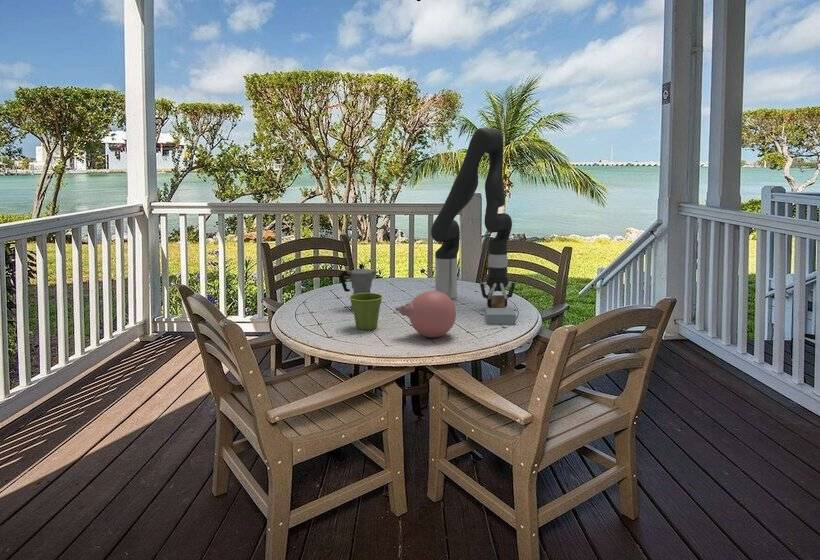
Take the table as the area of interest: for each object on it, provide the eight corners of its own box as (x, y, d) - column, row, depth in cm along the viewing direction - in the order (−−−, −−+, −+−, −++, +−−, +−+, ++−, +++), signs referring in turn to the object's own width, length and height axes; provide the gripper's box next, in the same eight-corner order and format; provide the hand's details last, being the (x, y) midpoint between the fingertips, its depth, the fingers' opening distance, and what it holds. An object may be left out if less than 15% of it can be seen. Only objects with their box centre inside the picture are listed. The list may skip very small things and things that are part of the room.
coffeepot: (375, 304, 241) (374, 261, 237) (381, 310, 232) (380, 264, 228) (338, 307, 236) (336, 263, 233) (342, 313, 228) (341, 267, 224)
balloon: (397, 329, 204) (396, 286, 201) (455, 330, 203) (455, 286, 200) (393, 343, 189) (392, 296, 186) (456, 343, 187) (456, 296, 185)
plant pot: (343, 330, 204) (342, 298, 202) (360, 322, 215) (359, 291, 212) (374, 333, 199) (373, 301, 197) (389, 325, 210) (388, 294, 208)
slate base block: (487, 325, 209) (487, 314, 209) (485, 318, 219) (485, 308, 219) (515, 325, 209) (515, 314, 208) (512, 318, 219) (512, 307, 218)
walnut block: (491, 310, 229) (491, 298, 228) (489, 307, 234) (489, 295, 233) (504, 310, 229) (504, 297, 228) (502, 307, 234) (502, 295, 233)
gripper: (514, 263, 232) (513, 305, 236) (477, 264, 232) (477, 306, 235) (518, 266, 225) (517, 310, 228) (480, 267, 225) (480, 310, 228)
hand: (496, 307), depth 232 cm, fingers closed on walnut block, 5 cm apart
